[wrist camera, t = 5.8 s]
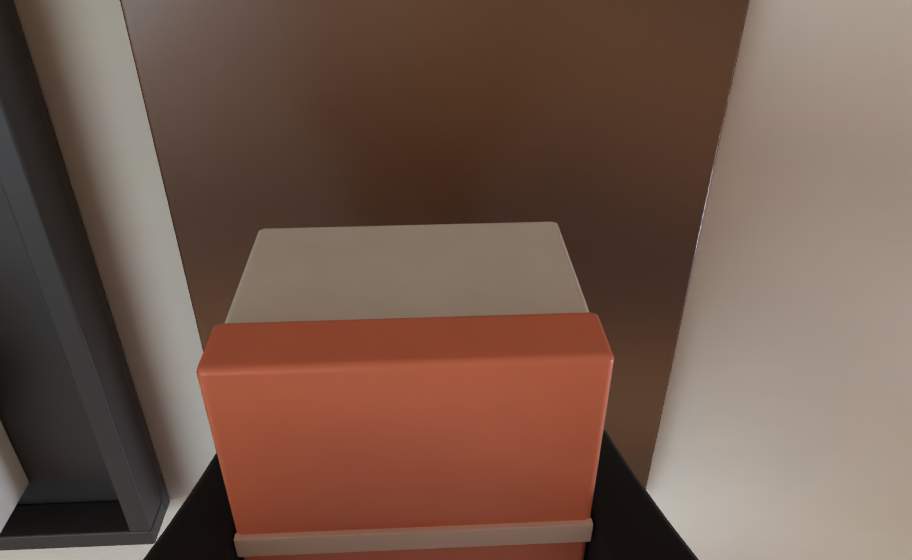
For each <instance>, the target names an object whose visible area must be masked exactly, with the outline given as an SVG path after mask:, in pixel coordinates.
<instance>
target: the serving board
mask: <svg viewBox="0 0 912 560" xmlns="http://www.w3.org/2000/svg"><path fill="white" fill-rule="evenodd" d="M120 2H121V6H122V11H123V15H124V19H125V23H126V28H127V32H128V36H129V40H130V44H131V49H132V53H133V57H134V61H135V65H136V70H137V74H138V78H139V82H140V87H141V91H142V95H143V99H144V103H145V108H146V112H147V116H148V120H149V125H150V129H151V133H152V137H153V141H154V146H155V150H156V154H157V158H158V162H159V167H160V171H161V175H162V179H163V184H164V188H165V192H166V196H167V200H168V205H169V209H170V213H171V217H172V221H173V226H174V230H175V234H176V238H177V243H178V247H179V251H180V255H181V259H182V264H183V268H184V272H185V276H186V281H187V285H188V289H189V293H190V297H191V302H192V306H193V310H194V314H195V318H196V323H197V327H198V331H199V335H200V340H201V344H202V348H203V352H204V350H205V347H206V345H207V342H208V340H209V337H210V335H211V332H212V330H213V327H214V326H215V325H218V324H223V323H225V321H226V318H227V315H228V312H229V310H230V307H231V304H232V302H233V299H234V296H235V294H236V291H237V288H238V286H239V283H240V280H241V277H242V275H243V272H244V269H245V267H246V264H247V261H248V259H249V256H250V253H251V251H252V248H253V245H254V242H255V240H256V237H257V234H258V232H259V231H260V230H262V229H270V228H311V227H352V226H393V225H434V224H474V223H515V222H555V223H557V224H558V227H559V229H560V232H561V235H562V238H563V240H564V243H565V246H566V249H567V252H568V254H569V257H570V260H571V263H572V265H573V268H574V271H575V274H576V277H577V279H578V282H579V285H580V288H581V291H582V293H583V296H584V299H585V302H586V304H587V307H588V310H589V312H592V313H595V314H597V315H598V316H599V319H600V322H601V324H602V327H603V330H604V332H605V335H606V338H607V340H608V343H609V346H610V348H611V351H612V354H613V356H614V363H613V370H612V376H611V383H610V390H609V396H608V403H607V409H606V416H605V422H604V429H605V430H606V431H607V433H608V434H609V436H610V438H611V439H612V441H613V442H614V444H615V445H616V447H617V448H618V450H619V451H620V453H621V455H622V456H623V458H624V459H625V461H626V462H627V464H628V465H629V467H630V468H631V469H632V471H633V472H634V474H635V475H636V477H637V478H638V480H639V481H640V483H641V484H642V485H643V487H644V488H645V489H646V485H647V480H648V475H649V471H650V466H651V461H652V457H653V452H654V447H655V442H656V438H657V433H658V428H659V424H660V419H661V414H662V409H663V405H664V400H665V395H666V391H667V386H668V381H669V376H670V372H671V367H672V362H673V358H674V353H675V348H676V343H677V339H678V334H679V329H680V325H681V320H682V315H683V310H684V306H685V301H686V296H687V292H688V287H689V282H690V277H691V273H692V268H693V263H694V259H695V254H696V249H697V244H698V240H699V235H700V230H701V226H702V221H703V216H704V211H705V207H706V202H707V197H708V193H709V188H710V183H711V178H712V174H713V169H714V164H715V160H716V155H717V150H718V145H719V141H720V136H721V131H722V127H723V122H724V117H725V112H726V108H727V103H728V98H729V94H730V89H731V84H732V79H733V75H734V70H735V65H736V61H737V56H738V51H739V47H740V42H741V37H742V32H743V28H744V23H745V18H746V14H747V9H748V4H749V0H120Z"/></svg>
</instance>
